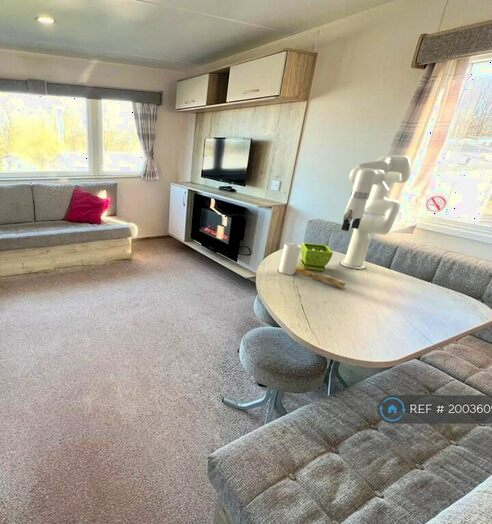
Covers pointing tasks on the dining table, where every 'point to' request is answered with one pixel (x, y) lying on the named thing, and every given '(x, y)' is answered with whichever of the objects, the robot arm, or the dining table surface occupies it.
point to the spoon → (330, 280)
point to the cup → (289, 258)
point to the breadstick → (303, 271)
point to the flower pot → (315, 256)
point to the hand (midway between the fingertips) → (349, 229)
